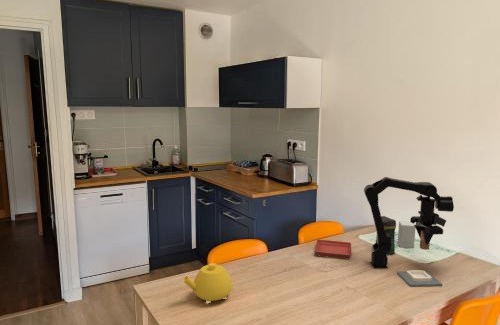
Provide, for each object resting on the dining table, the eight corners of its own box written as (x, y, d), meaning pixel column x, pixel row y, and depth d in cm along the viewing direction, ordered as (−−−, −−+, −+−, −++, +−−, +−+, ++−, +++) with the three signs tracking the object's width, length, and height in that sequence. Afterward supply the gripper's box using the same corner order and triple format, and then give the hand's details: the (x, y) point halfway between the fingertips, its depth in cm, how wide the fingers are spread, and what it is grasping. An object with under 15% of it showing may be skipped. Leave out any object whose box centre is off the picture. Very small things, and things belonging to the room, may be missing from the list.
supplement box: (414, 248, 205) (415, 225, 203) (399, 247, 206) (401, 225, 204) (411, 243, 212) (413, 221, 210) (397, 242, 213) (398, 220, 211)
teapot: (190, 313, 141) (189, 278, 139) (177, 295, 154) (176, 263, 152) (238, 300, 150) (238, 267, 148) (222, 284, 164) (222, 253, 162)
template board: (410, 286, 161) (410, 281, 161) (396, 273, 174) (397, 268, 174) (442, 286, 162) (442, 280, 162) (426, 272, 175) (427, 267, 175)
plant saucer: (350, 247, 206) (351, 242, 206) (351, 261, 189) (352, 254, 189) (316, 245, 211) (317, 239, 210) (314, 257, 193) (315, 251, 193)
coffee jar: (397, 253, 197) (399, 219, 194) (385, 256, 194) (387, 220, 191) (384, 247, 206) (386, 214, 203) (372, 249, 203) (374, 215, 200)
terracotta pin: (422, 249, 175) (423, 233, 174) (418, 246, 179) (419, 230, 178) (430, 249, 175) (432, 232, 174) (426, 246, 179) (427, 230, 178)
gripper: (456, 215, 166) (453, 250, 168) (433, 204, 184) (430, 235, 187) (431, 216, 165) (428, 250, 167) (410, 205, 184) (408, 236, 186)
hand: (424, 242), depth 177 cm, fingers closed on terracotta pin, 4 cm apart
